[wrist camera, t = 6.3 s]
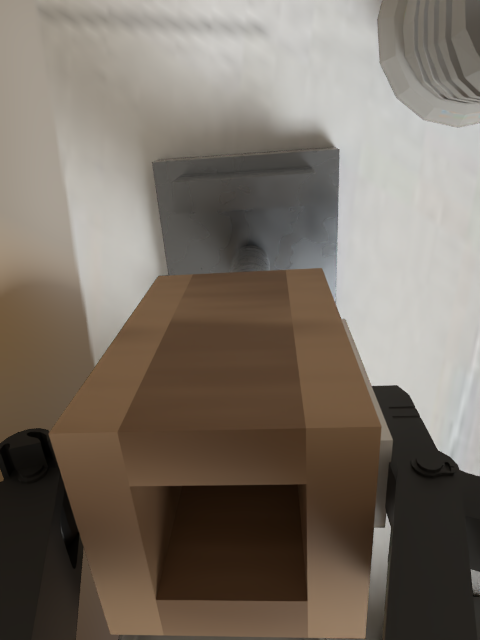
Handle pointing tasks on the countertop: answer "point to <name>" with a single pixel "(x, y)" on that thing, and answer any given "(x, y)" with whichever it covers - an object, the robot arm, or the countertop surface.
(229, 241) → the peg stand
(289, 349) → the sleeve
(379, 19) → the french press
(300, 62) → the countertop surface
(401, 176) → the countertop surface
